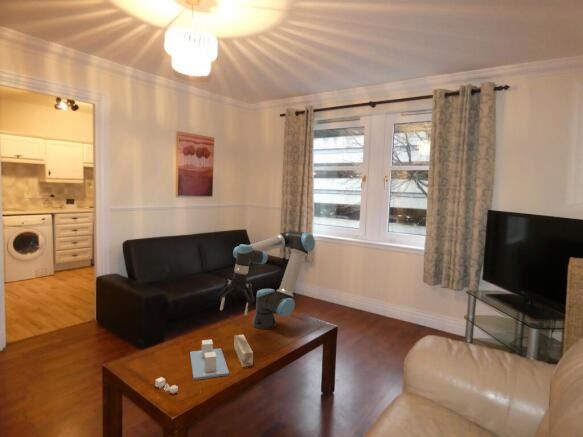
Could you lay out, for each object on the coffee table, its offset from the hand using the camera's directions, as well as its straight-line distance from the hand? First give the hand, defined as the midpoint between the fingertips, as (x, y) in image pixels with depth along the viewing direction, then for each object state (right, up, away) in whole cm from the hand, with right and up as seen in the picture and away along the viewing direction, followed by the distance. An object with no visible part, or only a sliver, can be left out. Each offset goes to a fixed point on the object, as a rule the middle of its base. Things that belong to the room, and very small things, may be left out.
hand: (233, 312), depth 186 cm
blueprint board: (-10, -22, -15) cm, 28 cm away
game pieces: (-22, -23, -37) cm, 49 cm away
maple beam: (+6, -22, -5) cm, 23 cm away
